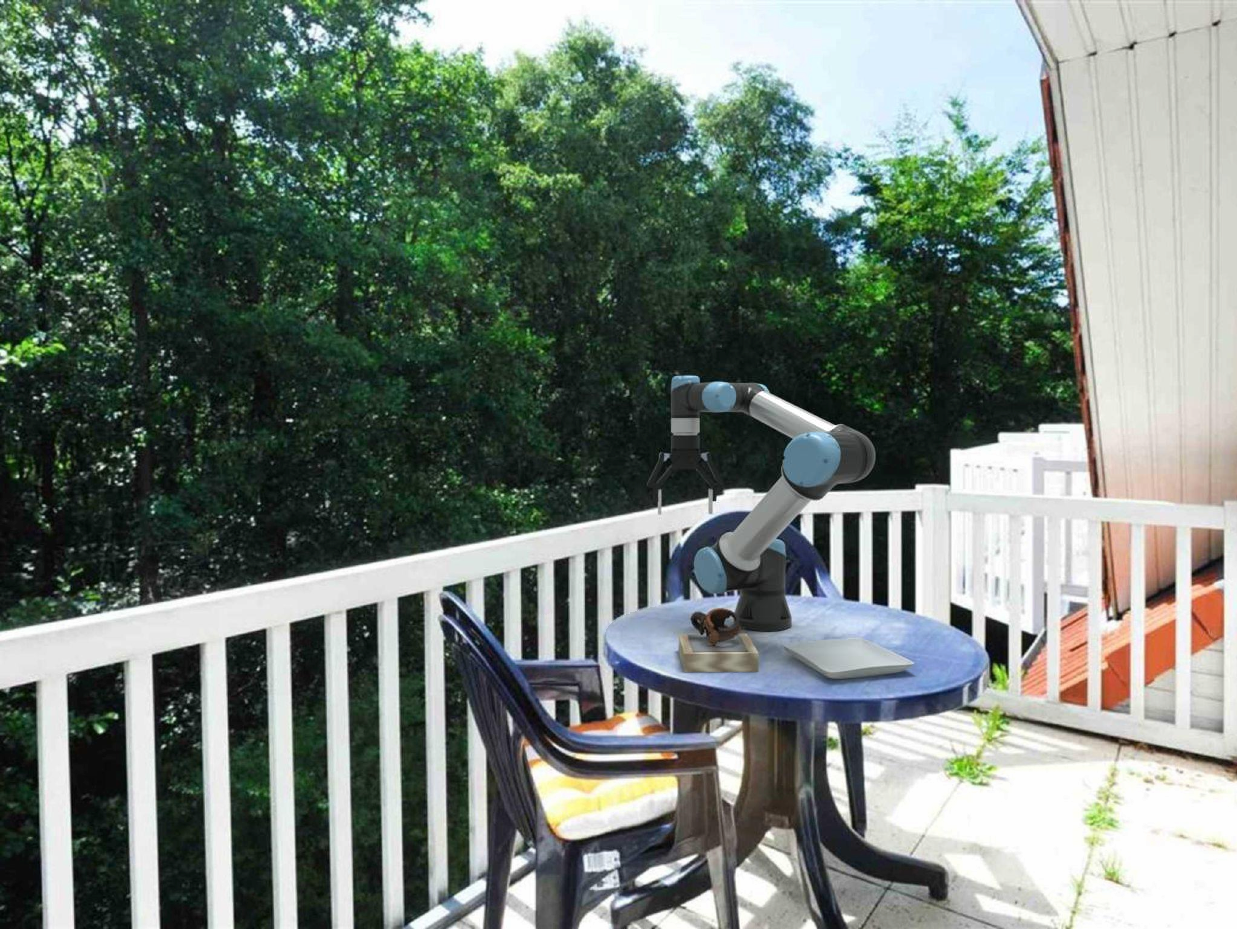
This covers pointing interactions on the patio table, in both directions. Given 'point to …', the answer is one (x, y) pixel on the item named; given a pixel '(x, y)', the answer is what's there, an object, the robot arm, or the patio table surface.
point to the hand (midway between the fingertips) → (685, 514)
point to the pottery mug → (716, 624)
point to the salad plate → (847, 657)
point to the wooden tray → (717, 654)
